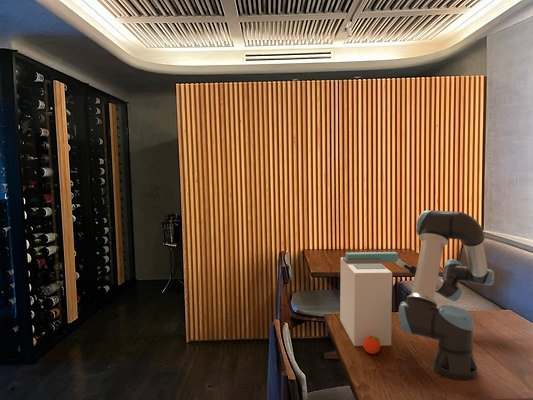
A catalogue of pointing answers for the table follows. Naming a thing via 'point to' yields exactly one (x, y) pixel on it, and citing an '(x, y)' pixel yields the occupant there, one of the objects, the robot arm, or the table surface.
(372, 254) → the teal block
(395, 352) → the table surface
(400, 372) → the table surface
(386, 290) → the tall cream box
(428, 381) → the table surface
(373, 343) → the tomato
